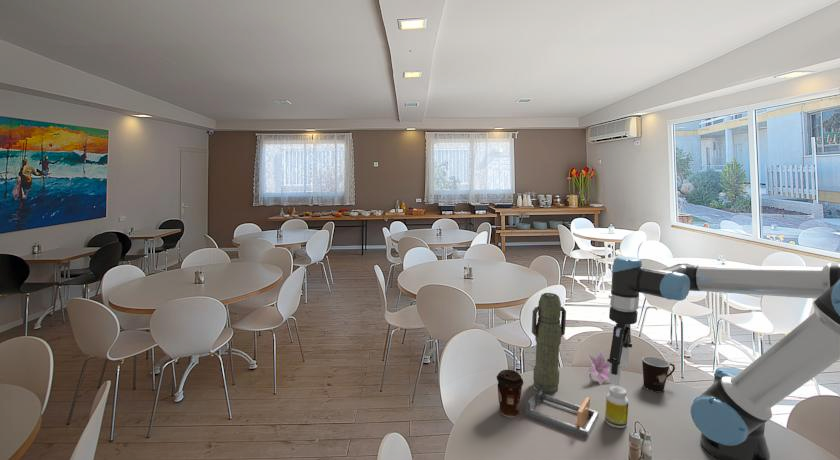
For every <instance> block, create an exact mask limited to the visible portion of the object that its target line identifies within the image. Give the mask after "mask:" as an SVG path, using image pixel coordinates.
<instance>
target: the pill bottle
mask: <svg viewBox="0 0 840 460" xmlns="http://www.w3.org/2000/svg"><path fill="white" fill-rule="evenodd" d="M604 409H605V413H604V421H605V423H606V424H608V425H609V426H611V427H613V428H616V429H617V428H618V429H624V428H626V427H627V425H628V417H629V415H628V413H629V399H628V397H627V390H626V389H625V388H623V387H622V386H619V385H612V386H609V392H608V393H607V395H606V399H605V408H604Z"/></svg>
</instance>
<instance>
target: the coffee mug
mask: <svg viewBox="0 0 840 460" xmlns="http://www.w3.org/2000/svg"><path fill="white" fill-rule="evenodd" d="M641 361H642V375H643V376H642V377H643V379H642V380H643V387H644V386H645V387H646V388H645V387H644V388H645V389H647V388H648V389H647V390H649V389H650V390H649V391H651V390H653V391H652V392H655V391H662V392H664V391H663V390H665V386H666V383H667V379H668V377H670V376H671V375H672V374H673V373H674V372H675V370H676V366H675V364H673V363H670V362H668V361H667V360H665V359H663V358H660V357H657V356H651V355H650V356H649V355H648V356H647V355H646V356H644V357H642V358H641ZM670 366H672V369H671V371H670V373H669V370H670Z"/></svg>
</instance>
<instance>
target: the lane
mask: <svg viewBox="0 0 840 460" xmlns="http://www.w3.org/2000/svg"><path fill="white" fill-rule="evenodd" d="M544 400H546V401H549V402H551V403H554V404H557V405H560V406H563V407H566V408H569V409H572V410H575V411H578V410H579V408H580V407H581V405H579V404H577V403H573V402H570V401H568V400H565V399H561V398H558V397H555V396H553V395H549V394H548V393H543V392H542V389H541V388H539V389H538V390H536V391H535V393H534V396H531V397H530V398H529V399H528V401H527V403H526V409H525V416H527V417H530V418H532V419H535V420H537V421H541V422H543V423H545V424H549V425H551V426H554V427H556V428H559V429H561V430H564V431H566V432H570V433H571V434H572V433H573V434H575V435H577V436H580V437H583V438H586V439H588V438H589V437H590V434H591V433H592V431H593V429H594V427H595V425H596V423H597V421H598V419H599V410H598V411H597V410H595V409H592V408H589V417H590V419H589V421H588V423H587V425H586V427H585V428H584V427H582V428H581V427H578V426H577V425H575V424H572V423H571V422H570V423H569V422H567V421H565V420H561V419H558V418H556V417H553V416H550V415H548V414H545V413H542V412H539V411H537V410H535V409H536V408H535V407H536V406H538V405H539V404H540V403H541V402H542V401H544Z"/></svg>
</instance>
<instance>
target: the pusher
mask: <svg viewBox="0 0 840 460" xmlns="http://www.w3.org/2000/svg"><path fill="white" fill-rule="evenodd" d="M542 401H543V402H542V403H544V404H547V405H550V406H553V407H555V408H558V409H561V410H564V411H566V412H570V413H573V414H575V415H576V416H577V418H576V420H577V421H576V426H578V427H581V428H584V426H585V424H586V422H587V420H588V418H589V417H590V416H589V409H590V405H591V404H590V403H591V402H590V401H591V398H590V397H588V396H586V397H585V399H584V400H583V402H582V403H581V405H580V406H581V407H580V408H579V410H578V411H575V410H572V409H569V408H566V407H563V406H560V405H557V404H554V403H551V402H549V401H546V400H542Z"/></svg>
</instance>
